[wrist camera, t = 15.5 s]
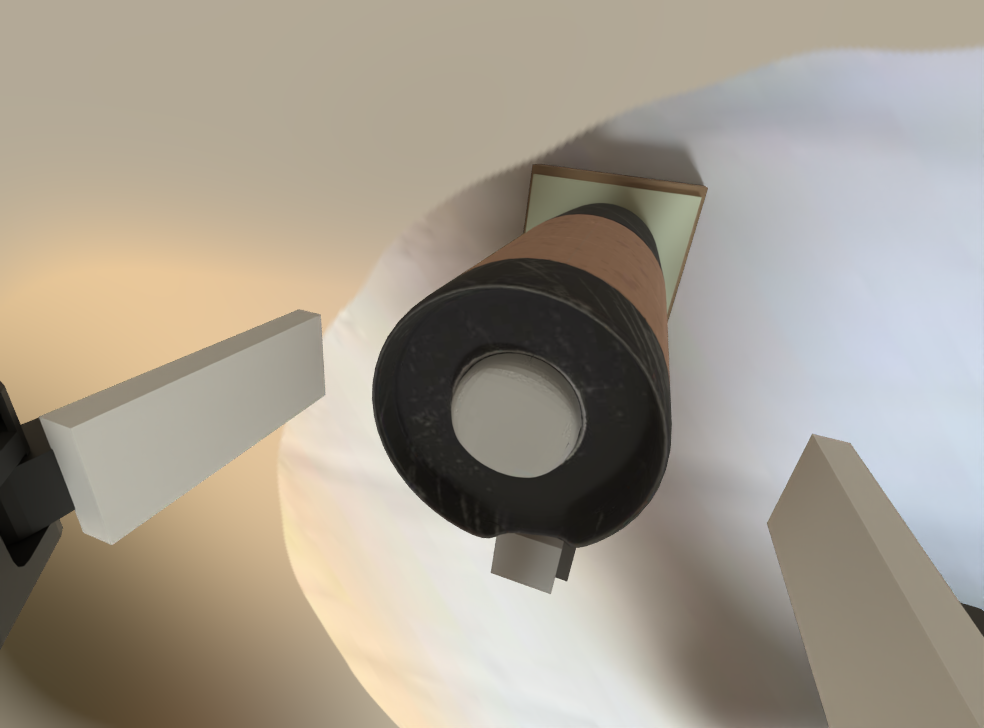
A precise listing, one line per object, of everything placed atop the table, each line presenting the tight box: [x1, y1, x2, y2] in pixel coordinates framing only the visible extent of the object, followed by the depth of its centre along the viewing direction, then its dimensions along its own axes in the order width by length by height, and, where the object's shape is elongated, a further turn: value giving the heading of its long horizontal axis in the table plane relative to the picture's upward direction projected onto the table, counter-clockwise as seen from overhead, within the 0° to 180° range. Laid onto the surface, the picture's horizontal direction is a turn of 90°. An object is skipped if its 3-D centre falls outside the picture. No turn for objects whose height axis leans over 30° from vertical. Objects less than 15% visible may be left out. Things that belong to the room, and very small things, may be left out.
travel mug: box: [372, 203, 672, 548], centre depth 20 cm, size 8×8×20 cm
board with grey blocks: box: [491, 164, 708, 594], centre depth 29 cm, size 10×26×11 cm, turn 174°
